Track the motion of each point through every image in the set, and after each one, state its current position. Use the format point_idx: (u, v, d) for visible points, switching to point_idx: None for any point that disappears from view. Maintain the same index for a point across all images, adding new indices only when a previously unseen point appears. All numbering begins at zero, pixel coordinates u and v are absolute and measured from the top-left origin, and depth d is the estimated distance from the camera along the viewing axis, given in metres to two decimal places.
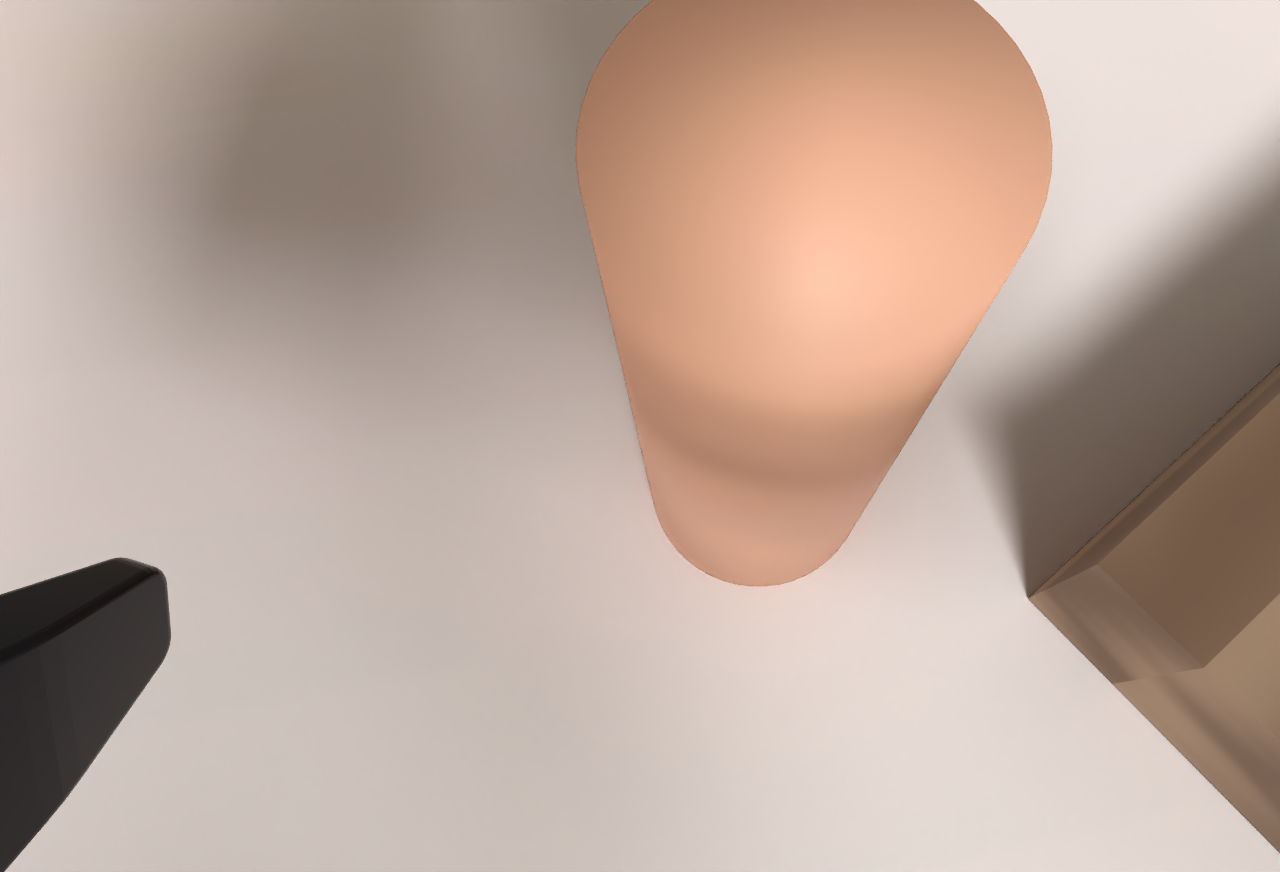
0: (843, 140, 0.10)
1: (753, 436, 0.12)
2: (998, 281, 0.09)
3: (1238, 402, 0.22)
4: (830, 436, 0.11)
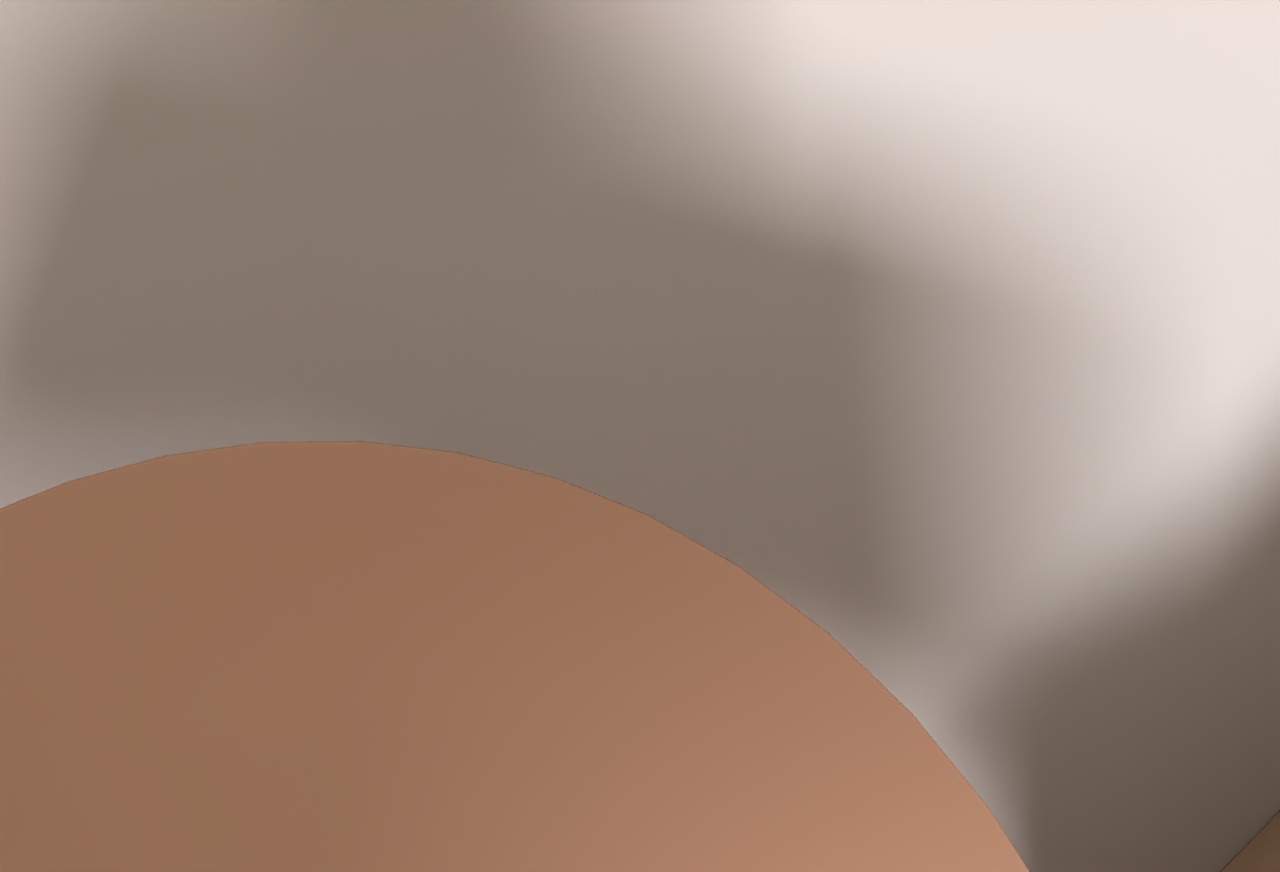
0: None
1: None
2: None
3: None
4: None
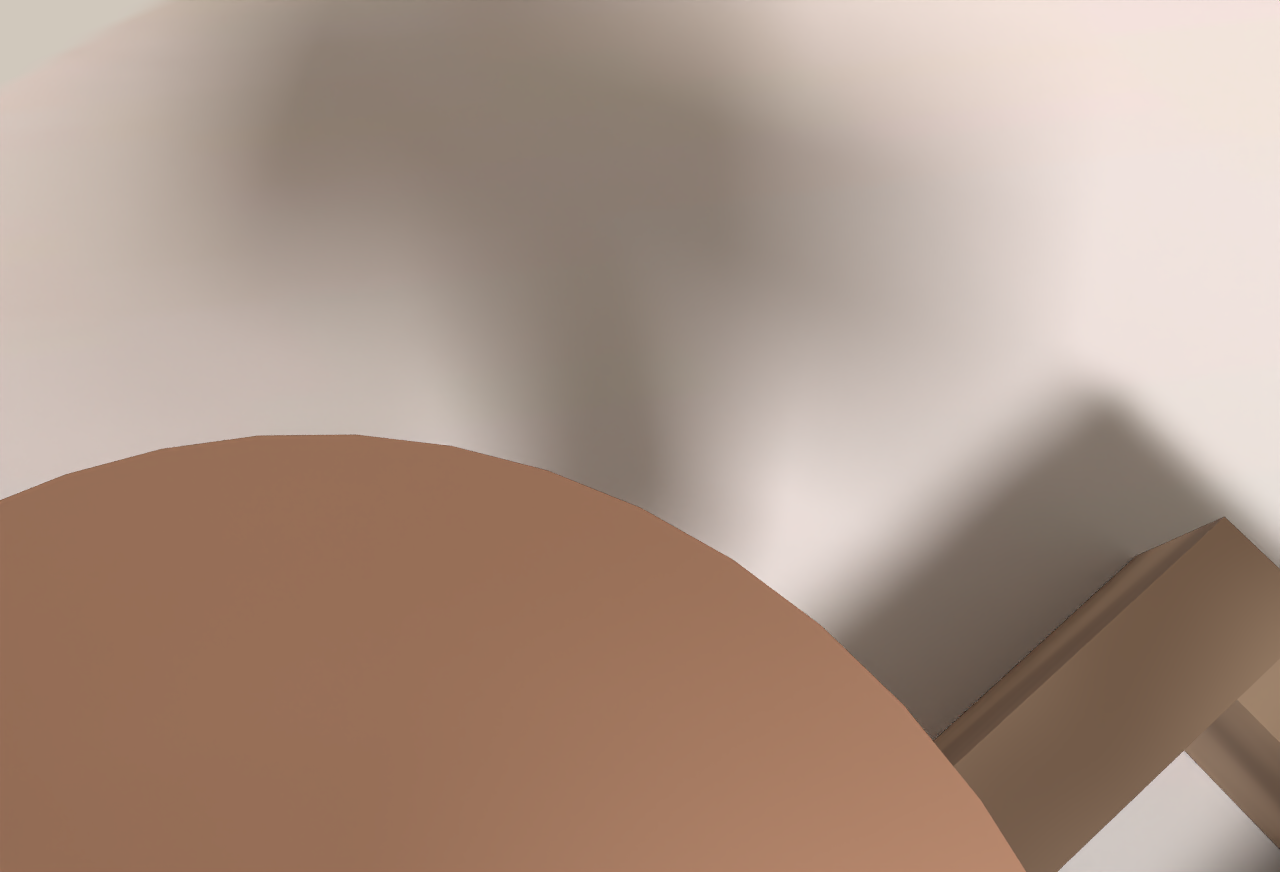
0: None
1: None
2: None
3: (981, 697, 0.21)
4: None
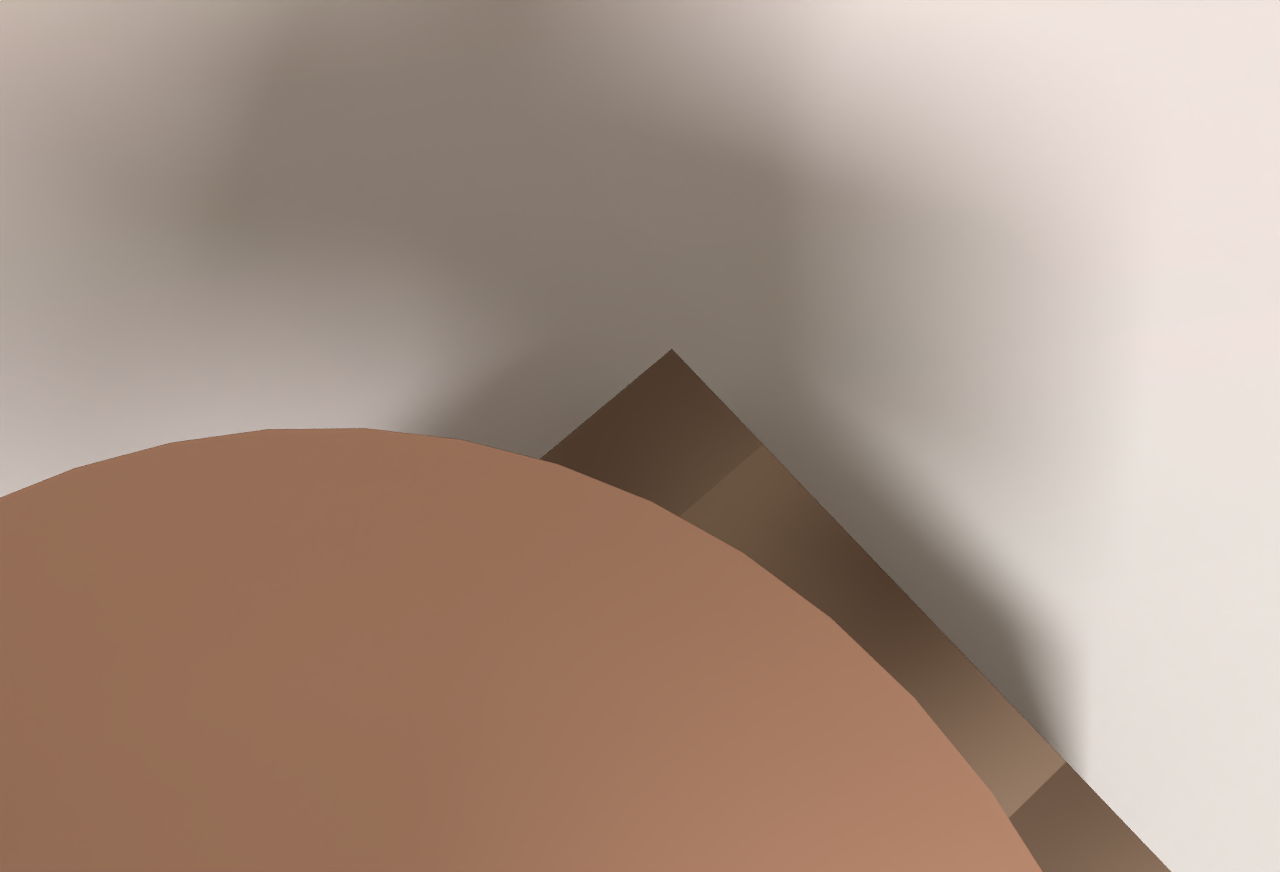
0: None
1: None
2: None
3: None
4: None
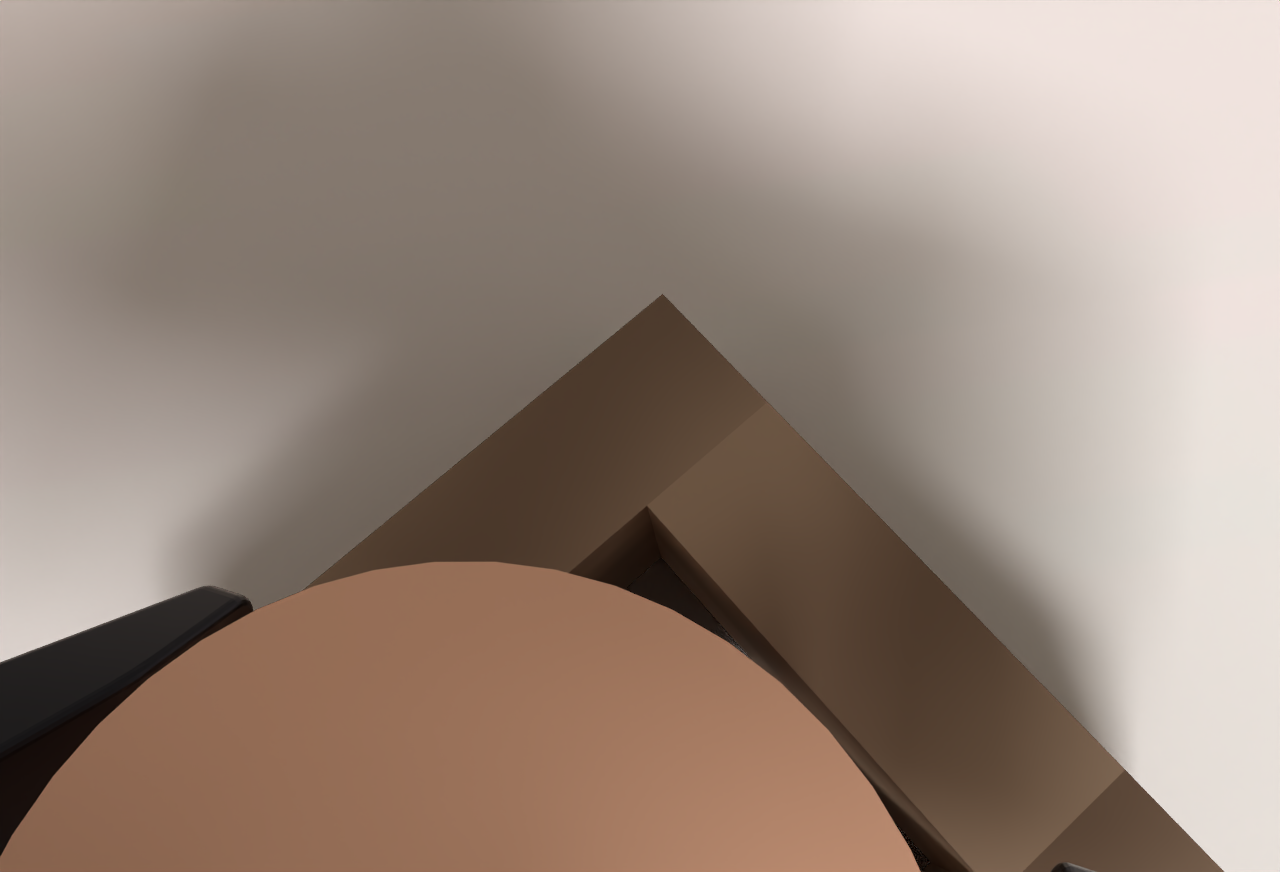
0: None
1: None
2: None
3: None
4: None
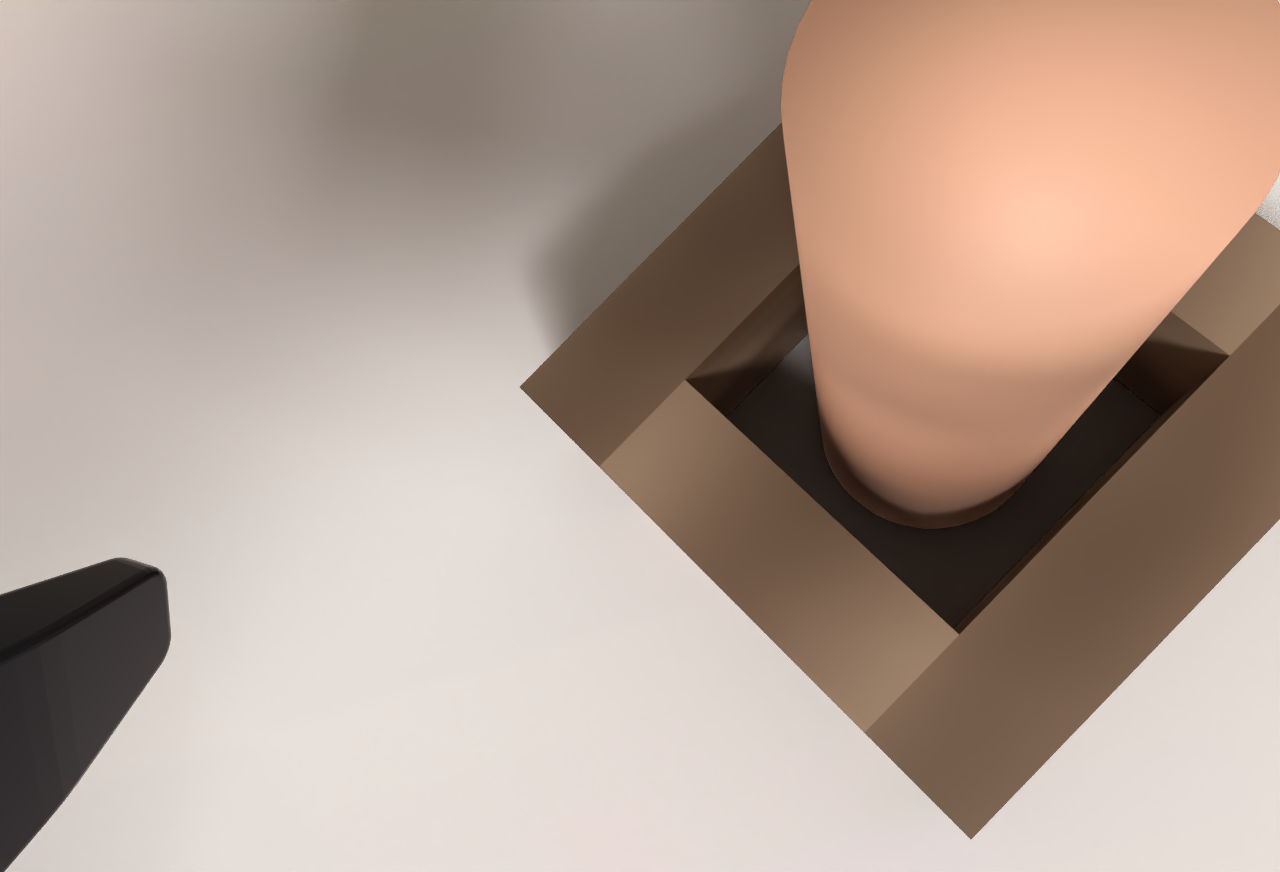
0: (1063, 83, 0.09)
1: (973, 392, 0.11)
2: (1252, 214, 0.09)
3: None
4: (1054, 384, 0.11)
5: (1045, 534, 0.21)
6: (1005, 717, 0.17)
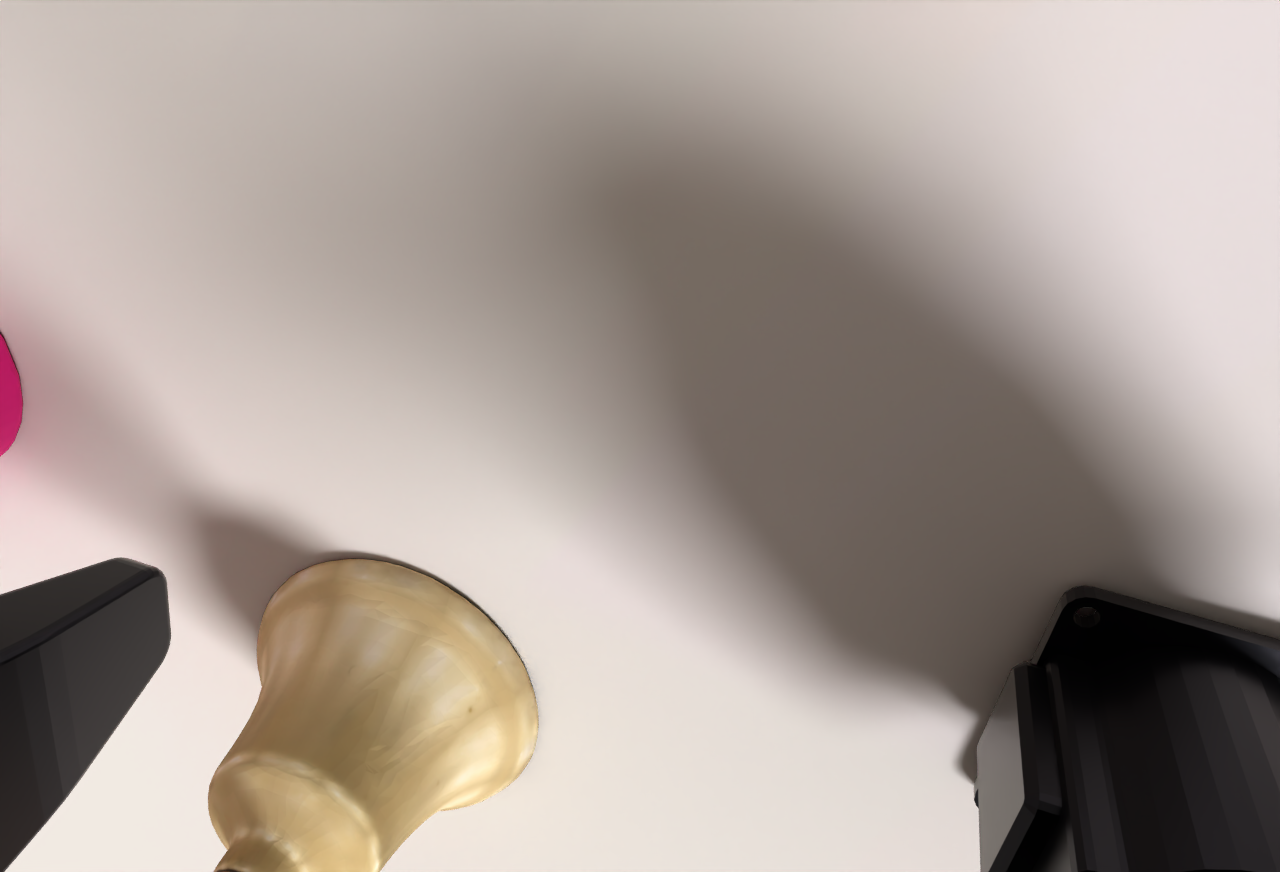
0: None
1: None
2: None
3: None
4: None
5: None
6: None
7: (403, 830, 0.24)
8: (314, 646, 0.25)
